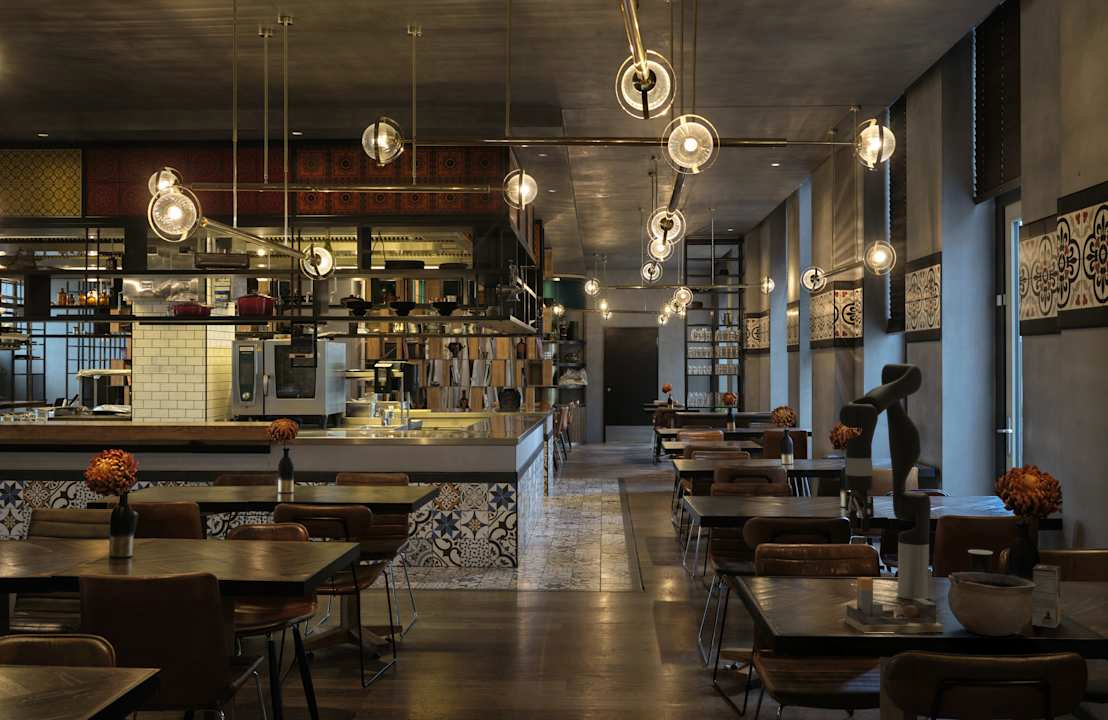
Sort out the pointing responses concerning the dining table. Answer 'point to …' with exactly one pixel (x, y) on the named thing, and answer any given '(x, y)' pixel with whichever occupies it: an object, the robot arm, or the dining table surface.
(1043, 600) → the coffee box
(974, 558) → the dixie cup
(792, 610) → the dining table surface
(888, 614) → the base
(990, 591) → the ceramic bowl
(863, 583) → the lever
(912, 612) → the walnut
